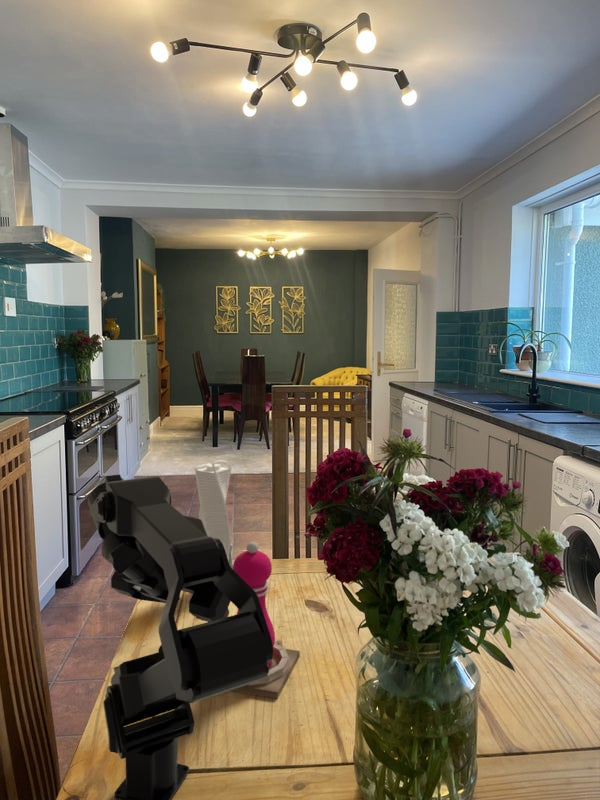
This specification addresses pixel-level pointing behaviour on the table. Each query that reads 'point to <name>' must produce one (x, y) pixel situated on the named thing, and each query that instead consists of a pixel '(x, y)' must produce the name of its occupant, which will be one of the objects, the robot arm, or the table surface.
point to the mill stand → (274, 674)
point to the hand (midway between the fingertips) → (201, 608)
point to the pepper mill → (256, 578)
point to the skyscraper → (215, 503)
